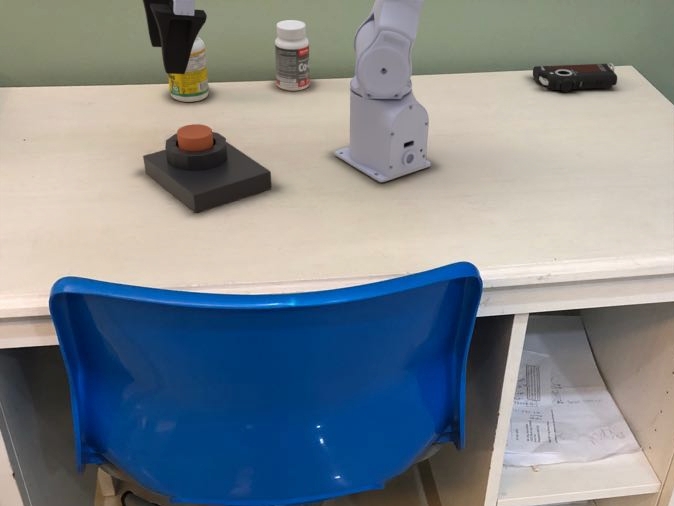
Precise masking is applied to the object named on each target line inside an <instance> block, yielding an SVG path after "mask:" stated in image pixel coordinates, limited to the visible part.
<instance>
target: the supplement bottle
mask: <svg viewBox="0 0 674 506" xmlns="http://www.w3.org/2000/svg"><path fill="white" fill-rule="evenodd" d="M205 47H206V45H205V43H204V41H203V40H202V38H200V37H199V36H197V37H196V39H195V42H194V44H193V47H192V51H191V54H190V58H189V62H188V65H187V69H186V71H185V74H167V79H168V89H169V94H170V96H171V98H173V99H174V100H176V101H178V102H184V103H193V102H199V101H202V100H204V99H207V98H208V96H209V94H210V87H209V77H208V67H207V58H206V57H207V56H206V48H205Z"/></svg>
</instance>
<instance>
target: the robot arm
mask: <svg viewBox="0 0 674 506" xmlns="http://www.w3.org/2000/svg"><path fill="white" fill-rule="evenodd" d="M425 1H426V0H374V3H373V6H372V9H371V11H370V13H369V15H368V17H366V19H365V20H364V21H363V22H362V23H361V24H360V26H359V27H358V28H357V30H356V31H355V34H354V38H353V49H354V54H355V65H354V76H353V77H352V78H351V79H350V82H349V87H350V88H349V146H346V147H342V148H339V149H336V150H335V151H334V156H336V157H337V158H338V159H340V160H342V161H344V162H346V163H347V164H348V165H350V166H351V167H353V168H355V169H357V170H359V171H361V172H362V173H364V174H365V175H367V176H369V177H370V178H372V179H373V180H375V181H376V182H378V183H385V182H388V181H390V180H391V181H392V180H394V179H398V178H400V177H403V176H406V175H409V174H412V173H415V172H418V171H420V170H423V169H426V168H429V167H431V166H432V162H431V161H430V160H428V159H427V153H428V152H427V151H428V138H429V123H430V118H429V114H428V113H429V112H428V111H427V108H426V107H425V106H424V105H422V103H420V102H419V101H418V100H417V98H416V96H415V95H414V92H413V91H414V90H413V82H412V79H411V78H412V74H413V63H412V52H413V48H414V45H415V42H416V39H417V34H418V29H419V23H420V16H421V12H422V9H423V6H424V5H425ZM142 3H143V8H144V13H145V18H146V24H147V31H148V36H149V40H150V45H151V47H153V48H161V56H162V57H161V58H162V62H163V68H164V71H165V73H166V74H167V75H168V74H185V71H186V69H187V65H188V62H189V58H190V54H191V51H192V47H193V44H194V42H195V39H196V37H198V35H199V33H200V31H201V30H202V28H203V26H204V25H205V24H206V21H207V19H208V15H207V13H206V12H205V10H204V9H195V8H196V0H142Z"/></svg>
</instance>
